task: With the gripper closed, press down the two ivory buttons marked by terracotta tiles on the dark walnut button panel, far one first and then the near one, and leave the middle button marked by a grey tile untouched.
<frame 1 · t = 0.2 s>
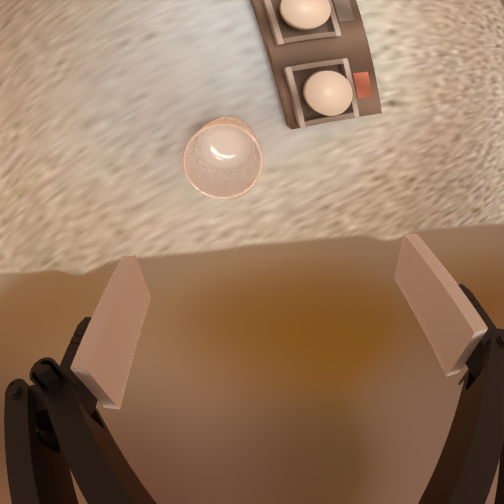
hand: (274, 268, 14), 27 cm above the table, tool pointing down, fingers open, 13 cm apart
panel: (306, 17, 27), on the table
button mid: (304, 8, 22), point 6 cm above the table, slide at 0.0 cm
tan paper cup: (227, 140, 37), on the table
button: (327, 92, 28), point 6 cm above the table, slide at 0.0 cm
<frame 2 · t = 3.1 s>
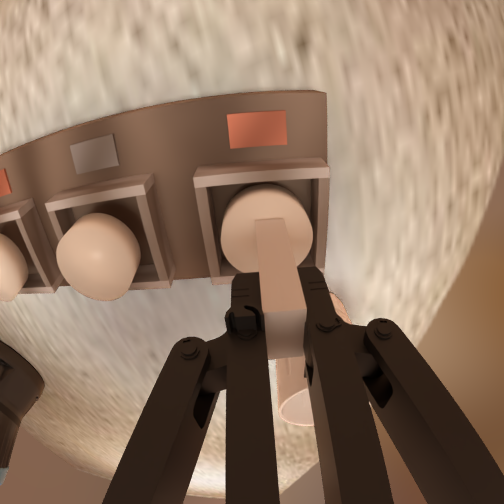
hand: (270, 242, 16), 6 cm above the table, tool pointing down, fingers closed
panel: (124, 193, 20), on the table
button mid: (98, 258, 16), point 6 cm above the table, slide at 0.0 cm
tan paper cup: (308, 313, 28), on the table
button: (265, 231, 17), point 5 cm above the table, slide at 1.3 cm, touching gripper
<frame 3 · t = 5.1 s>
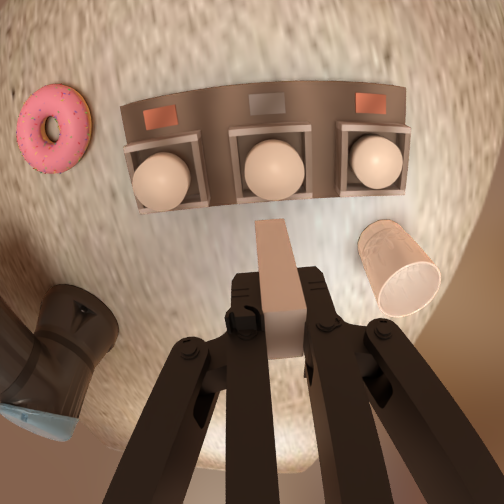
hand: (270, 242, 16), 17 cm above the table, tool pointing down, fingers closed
panel: (268, 137, 29), on the table
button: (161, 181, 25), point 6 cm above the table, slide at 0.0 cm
button mid: (273, 169, 25), point 6 cm above the table, slide at 0.0 cm
tan paper cup: (380, 240, 37), on the table
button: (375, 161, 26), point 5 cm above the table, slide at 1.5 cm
doughnut: (61, 125, 27), on the table
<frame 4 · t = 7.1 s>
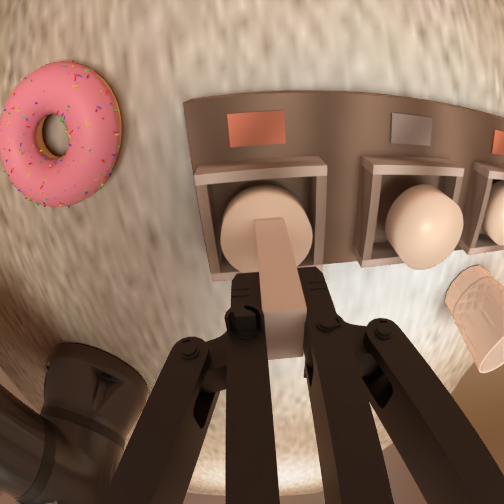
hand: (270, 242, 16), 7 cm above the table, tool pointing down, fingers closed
panel: (387, 171, 21), on the table
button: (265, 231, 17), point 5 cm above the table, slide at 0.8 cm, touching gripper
button mid: (425, 227, 16), point 6 cm above the table, slide at 0.0 cm
tan paper cup: (465, 286, 28), on the table
doughnut: (68, 129, 18), on the table
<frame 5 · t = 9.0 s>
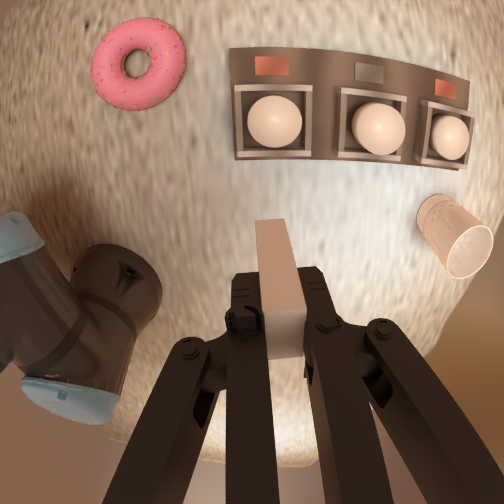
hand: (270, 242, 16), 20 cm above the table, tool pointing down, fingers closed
panel: (358, 105, 29), on the table
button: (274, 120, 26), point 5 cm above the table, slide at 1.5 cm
button mid: (378, 128, 25), point 6 cm above the table, slide at 0.0 cm
tan paper cup: (434, 214, 37), on the table
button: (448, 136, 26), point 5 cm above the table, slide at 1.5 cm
doughnut: (143, 63, 27), on the table
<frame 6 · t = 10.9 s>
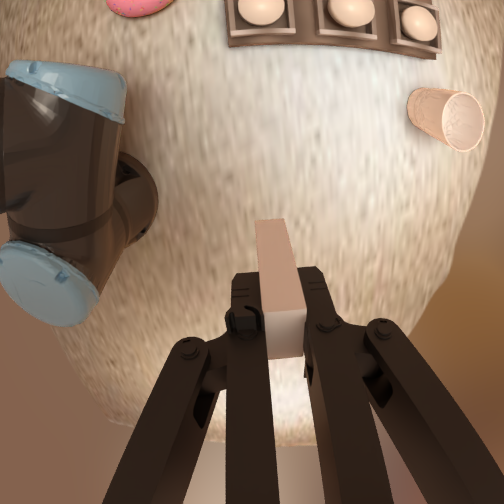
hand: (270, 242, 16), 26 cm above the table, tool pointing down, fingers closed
panel: (334, 7, 27), on the table
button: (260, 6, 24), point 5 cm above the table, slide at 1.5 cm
button mid: (351, 7, 23), point 6 cm above the table, slide at 0.0 cm
tan paper cup: (423, 108, 35), on the table
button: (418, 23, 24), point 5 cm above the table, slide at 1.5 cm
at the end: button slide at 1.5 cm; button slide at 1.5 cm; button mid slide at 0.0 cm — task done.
